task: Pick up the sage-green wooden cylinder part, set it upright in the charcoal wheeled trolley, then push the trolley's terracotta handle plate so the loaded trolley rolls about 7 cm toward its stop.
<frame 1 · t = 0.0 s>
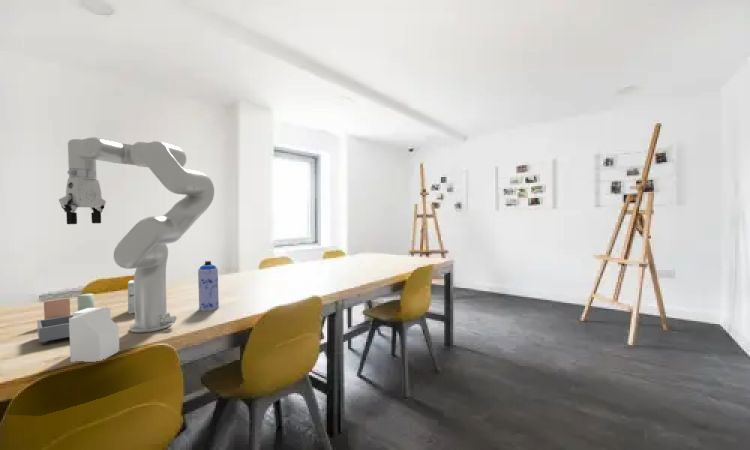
hand: (84, 223, 126), 37 cm above the table, tool pointing down, fingers open, 9 cm apart
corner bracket: (94, 354, 102), on the table
aerosol can: (209, 308, 150), on the table
supplement box: (139, 311, 147), on the table
trolley: (60, 318, 121), point 5 cm above the table, slide at 0.0 cm
part: (86, 314, 142), on the table
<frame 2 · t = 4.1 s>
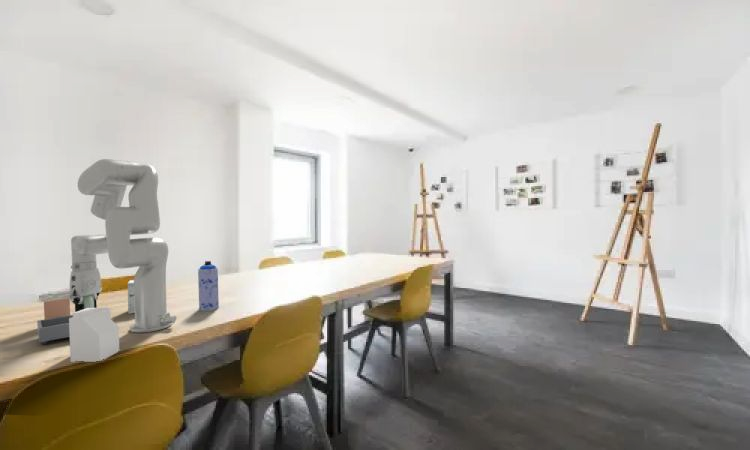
hand: (86, 311, 142), 1 cm above the table, tool pointing down, fingers closed on part, 5 cm apart
part: (86, 314, 142), on the table, touching gripper
everything else where it was.
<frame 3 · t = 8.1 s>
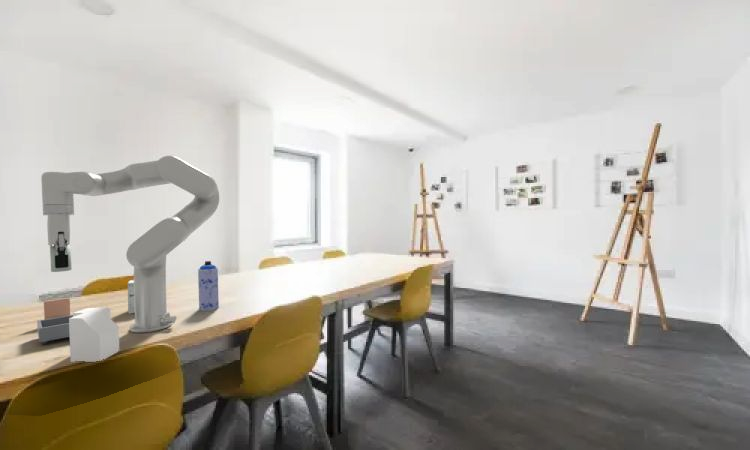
hand: (61, 266, 115), 23 cm above the table, tool pointing down, fingers closed on part, 5 cm apart
part: (61, 270, 115), point 22 cm above the table, touching gripper
everything else where it was.
when the fingers open (5 cm above the table, at t = 12.1 s): part drops 1 cm, resting on trolley.
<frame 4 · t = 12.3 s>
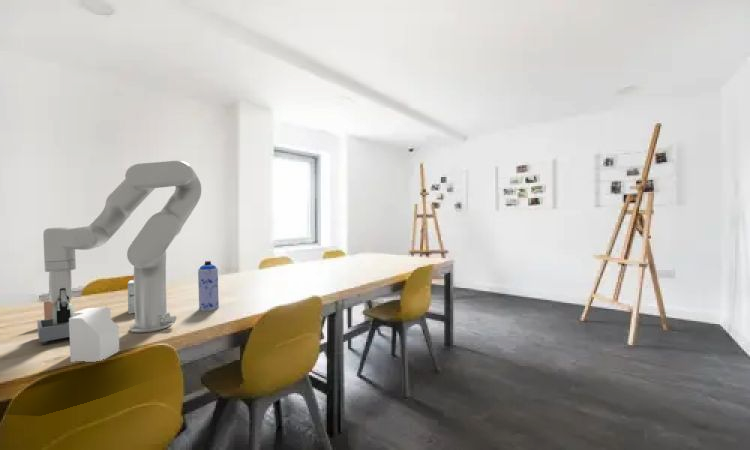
hand: (62, 319, 115), 6 cm above the table, tool pointing down, fingers open, 7 cm apart
trolley: (60, 318, 121), point 5 cm above the table, slide at 0.0 cm, touching part
part: (63, 329, 115), point 3 cm above the table, touching trolley
everything else where it was.
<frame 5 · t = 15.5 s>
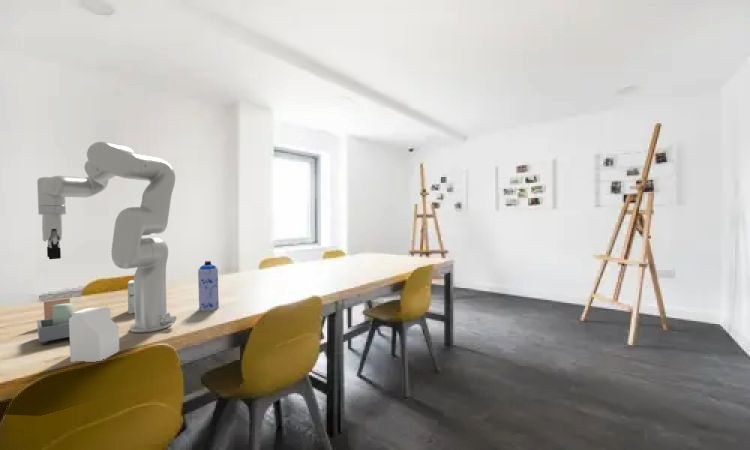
hand: (54, 257, 133), 24 cm above the table, tool pointing down, fingers open, 7 cm apart
nothing on the table moved.
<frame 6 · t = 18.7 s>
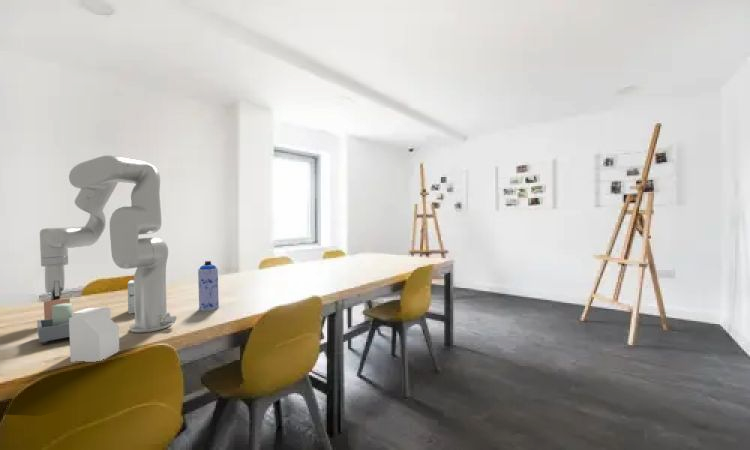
hand: (56, 310, 132), 4 cm above the table, tool pointing down, fingers closed
trolley: (60, 318, 121), point 5 cm above the table, slide at 0.0 cm, touching gripper, part
everything else where it was.
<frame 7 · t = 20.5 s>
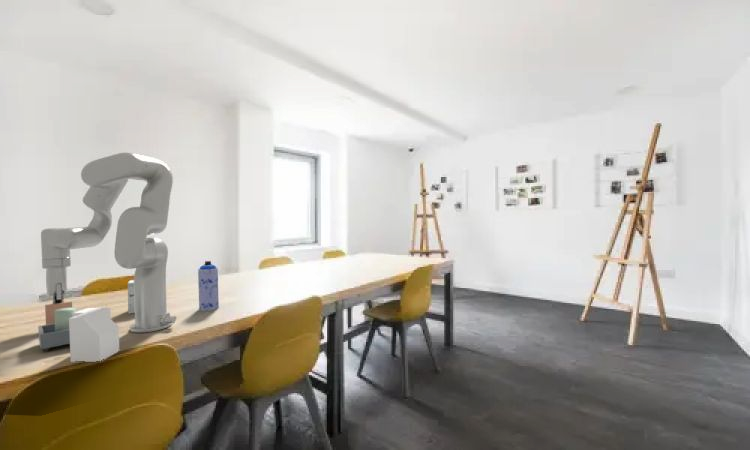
hand: (58, 314, 127), 5 cm above the table, tool pointing down, fingers closed
trolley: (62, 323, 115), point 5 cm above the table, slide at 7.9 cm, touching gripper, part
part: (65, 335, 110), point 3 cm above the table, touching trolley
everything else where it was.
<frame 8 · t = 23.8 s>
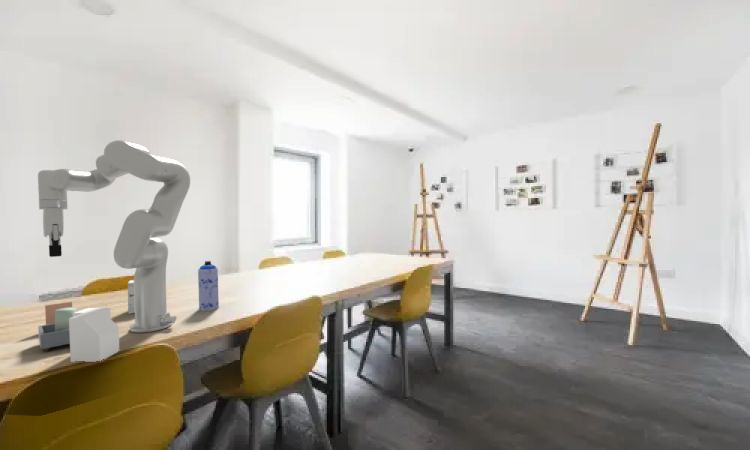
hand: (55, 256, 128), 25 cm above the table, tool pointing down, fingers closed
trolley: (62, 323, 115), point 5 cm above the table, slide at 7.9 cm, touching part
everything else where it was.
at the end: trolley slide at 7.9 cm; part inside the target area on the trolley (0.2 cm from its centre), point 2.7 cm above the trolley's base; part tilted 2° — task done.
